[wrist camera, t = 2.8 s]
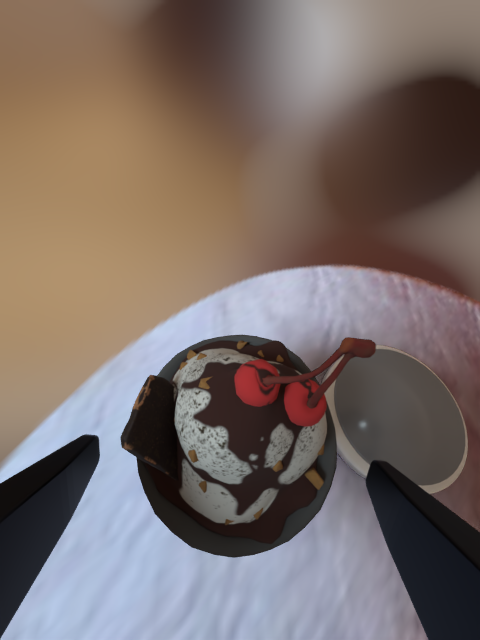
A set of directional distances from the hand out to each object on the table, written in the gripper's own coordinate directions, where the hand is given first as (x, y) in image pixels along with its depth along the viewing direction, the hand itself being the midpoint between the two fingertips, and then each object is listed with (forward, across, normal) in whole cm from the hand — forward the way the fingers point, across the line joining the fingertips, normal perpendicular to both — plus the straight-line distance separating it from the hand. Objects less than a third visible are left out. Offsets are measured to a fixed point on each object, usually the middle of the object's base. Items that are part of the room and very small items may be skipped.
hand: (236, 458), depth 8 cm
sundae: (+8, 0, +6) cm, 10 cm away
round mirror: (+10, -12, +4) cm, 16 cm away
